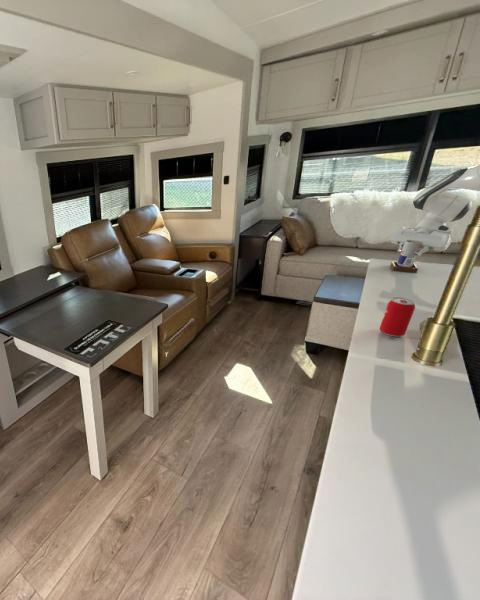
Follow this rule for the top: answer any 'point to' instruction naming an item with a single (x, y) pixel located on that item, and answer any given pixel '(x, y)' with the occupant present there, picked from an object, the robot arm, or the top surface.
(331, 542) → the top surface
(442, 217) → the robot arm
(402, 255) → the energy drink
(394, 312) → the beverage can
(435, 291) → the top surface
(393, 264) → the serving tray
